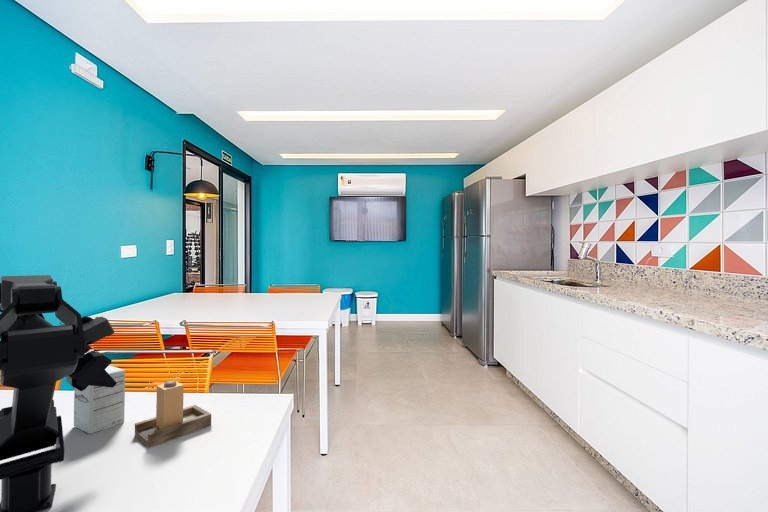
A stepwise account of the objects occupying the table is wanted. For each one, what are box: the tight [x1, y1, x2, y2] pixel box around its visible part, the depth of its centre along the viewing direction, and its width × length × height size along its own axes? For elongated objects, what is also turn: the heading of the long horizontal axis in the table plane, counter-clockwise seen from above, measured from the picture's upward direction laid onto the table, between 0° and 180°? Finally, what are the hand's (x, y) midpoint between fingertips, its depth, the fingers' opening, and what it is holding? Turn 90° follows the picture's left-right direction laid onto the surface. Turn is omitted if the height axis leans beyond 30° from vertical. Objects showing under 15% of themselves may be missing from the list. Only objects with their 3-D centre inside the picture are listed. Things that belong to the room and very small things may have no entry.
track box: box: [134, 404, 212, 449], centre depth 83 cm, size 13×8×3 cm, turn 143°
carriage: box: [155, 380, 185, 429], centre depth 82 cm, size 4×4×10 cm
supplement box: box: [73, 364, 126, 435], centre depth 85 cm, size 7×7×13 cm
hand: (114, 385), depth 74 cm, fingers closed
